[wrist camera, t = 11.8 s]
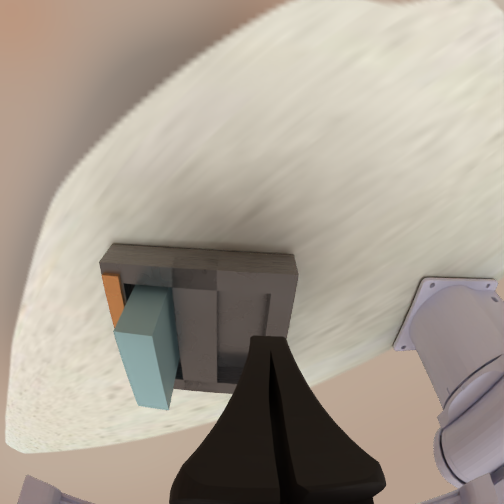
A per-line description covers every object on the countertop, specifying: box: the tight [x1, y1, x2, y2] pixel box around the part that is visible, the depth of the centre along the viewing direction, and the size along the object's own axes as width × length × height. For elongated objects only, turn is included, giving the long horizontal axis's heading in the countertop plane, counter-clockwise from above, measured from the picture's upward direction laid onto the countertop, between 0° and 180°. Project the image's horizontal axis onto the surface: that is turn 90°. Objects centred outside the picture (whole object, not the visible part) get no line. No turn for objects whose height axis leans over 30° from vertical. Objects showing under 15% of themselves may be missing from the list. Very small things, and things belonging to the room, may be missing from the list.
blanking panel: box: [113, 284, 180, 410], centre depth 21 cm, size 2×8×6 cm, turn 176°
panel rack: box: [99, 244, 298, 394], centre depth 23 cm, size 13×13×3 cm
